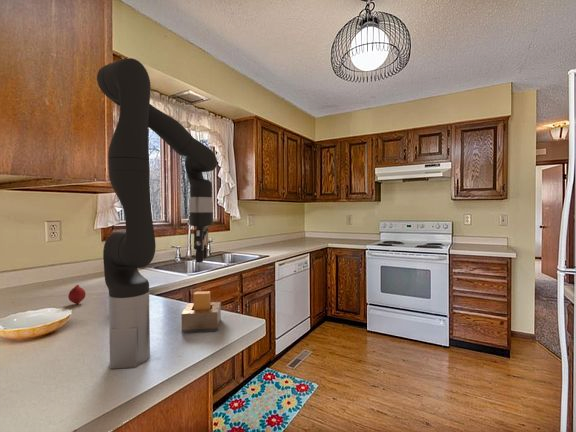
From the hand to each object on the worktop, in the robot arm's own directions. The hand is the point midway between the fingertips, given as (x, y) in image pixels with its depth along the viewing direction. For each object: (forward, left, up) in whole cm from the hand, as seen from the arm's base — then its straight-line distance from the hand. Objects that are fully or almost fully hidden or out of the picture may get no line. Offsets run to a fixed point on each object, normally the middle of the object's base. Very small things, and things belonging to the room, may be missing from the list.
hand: (201, 260), depth 101 cm
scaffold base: (0, 0, -22) cm, 22 cm away
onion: (+32, +55, -22) cm, 67 cm away
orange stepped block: (0, 0, -21) cm, 21 cm away
